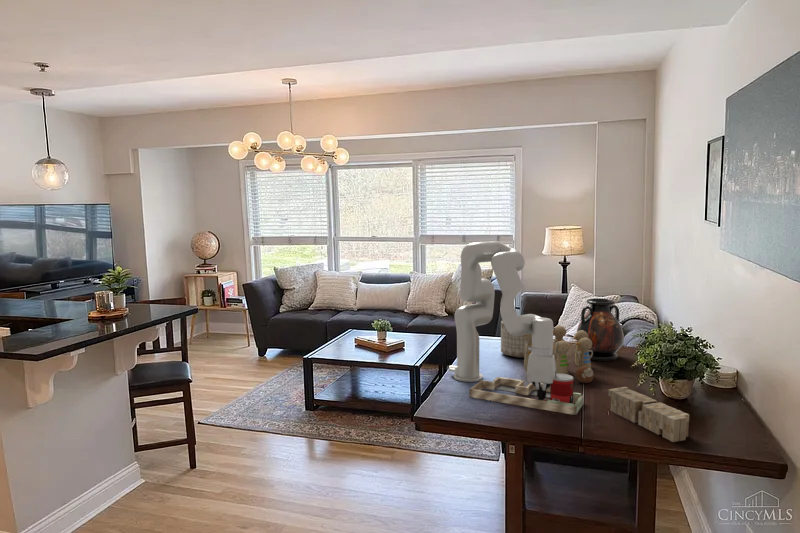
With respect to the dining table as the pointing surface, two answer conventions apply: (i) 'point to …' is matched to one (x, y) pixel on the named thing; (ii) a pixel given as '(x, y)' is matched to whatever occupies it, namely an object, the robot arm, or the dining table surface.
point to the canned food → (562, 388)
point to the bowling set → (560, 349)
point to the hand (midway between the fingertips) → (541, 399)
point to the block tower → (650, 413)
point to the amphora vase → (602, 329)
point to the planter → (512, 343)
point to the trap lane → (519, 388)
